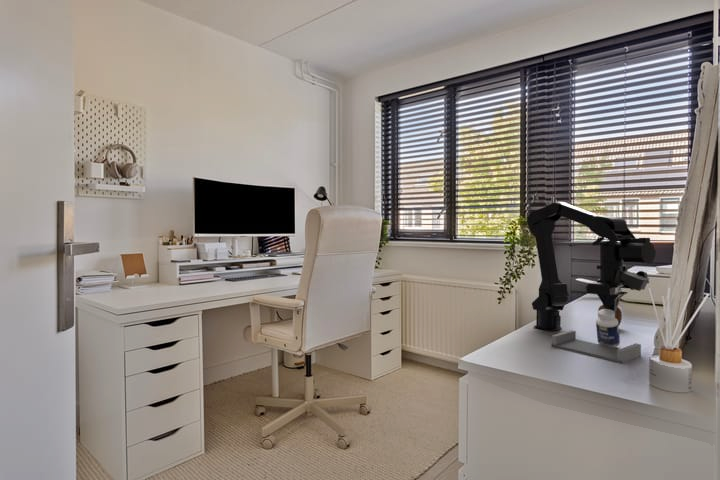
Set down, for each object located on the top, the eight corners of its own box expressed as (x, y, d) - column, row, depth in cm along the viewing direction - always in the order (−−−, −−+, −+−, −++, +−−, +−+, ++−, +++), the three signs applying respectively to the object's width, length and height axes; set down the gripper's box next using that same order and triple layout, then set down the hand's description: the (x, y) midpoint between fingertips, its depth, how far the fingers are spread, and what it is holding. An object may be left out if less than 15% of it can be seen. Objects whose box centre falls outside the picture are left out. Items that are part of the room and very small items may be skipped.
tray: (551, 346, 114) (551, 335, 114) (571, 340, 120) (571, 330, 120) (622, 363, 99) (622, 351, 99) (640, 355, 106) (640, 344, 106)
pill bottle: (598, 347, 114) (595, 316, 112) (597, 338, 118) (594, 307, 116) (620, 348, 111) (618, 316, 109) (619, 338, 116) (616, 307, 113)
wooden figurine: (594, 326, 139) (595, 282, 138) (605, 324, 141) (606, 281, 141) (613, 330, 133) (614, 285, 132) (624, 329, 135) (625, 284, 135)
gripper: (630, 265, 102) (630, 326, 102) (657, 261, 113) (657, 316, 114) (584, 263, 111) (585, 319, 111) (613, 259, 122) (614, 311, 123)
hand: (612, 316), depth 115 cm, fingers closed
